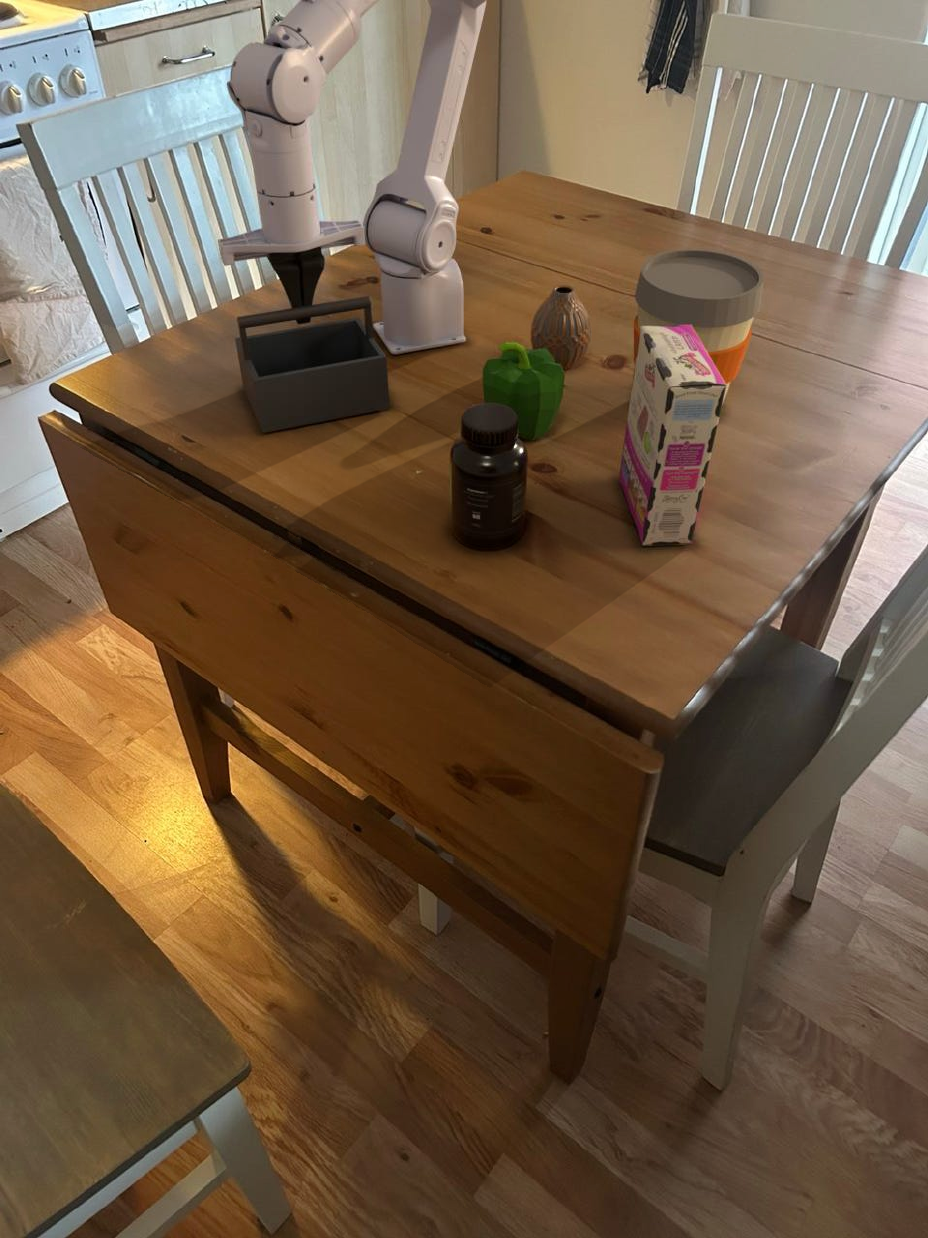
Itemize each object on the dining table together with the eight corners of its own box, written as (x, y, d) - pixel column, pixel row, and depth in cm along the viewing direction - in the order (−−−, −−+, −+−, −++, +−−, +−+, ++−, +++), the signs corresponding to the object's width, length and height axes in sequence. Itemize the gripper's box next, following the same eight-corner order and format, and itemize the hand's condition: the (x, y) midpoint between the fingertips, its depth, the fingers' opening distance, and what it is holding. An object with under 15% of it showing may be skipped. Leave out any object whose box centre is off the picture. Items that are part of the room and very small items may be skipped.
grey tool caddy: (389, 408, 104) (383, 315, 97) (262, 433, 101) (247, 338, 94) (363, 366, 111) (355, 277, 104) (243, 388, 108) (227, 297, 101)
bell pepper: (565, 412, 104) (572, 326, 97) (555, 453, 98) (562, 365, 92) (489, 404, 106) (491, 318, 99) (475, 444, 100) (475, 356, 93)
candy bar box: (695, 545, 87) (730, 384, 76) (641, 548, 87) (668, 387, 76) (666, 476, 96) (693, 320, 84) (616, 478, 95) (637, 322, 84)
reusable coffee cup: (715, 448, 99) (744, 311, 89) (603, 417, 104) (618, 283, 93) (751, 394, 107) (781, 262, 97) (645, 367, 112) (664, 239, 101)
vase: (584, 378, 110) (591, 305, 104) (525, 372, 111) (528, 299, 105) (590, 350, 115) (597, 279, 109) (533, 344, 116) (537, 273, 110)
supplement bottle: (436, 536, 88) (433, 423, 80) (474, 499, 93) (475, 388, 84) (500, 561, 86) (504, 447, 77) (537, 522, 90) (544, 409, 82)
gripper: (347, 165, 97) (357, 293, 107) (203, 182, 94) (227, 314, 103) (367, 187, 93) (375, 320, 102) (216, 207, 89) (240, 343, 98)
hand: (302, 319), depth 102 cm, fingers closed, pressing on grey tool caddy
